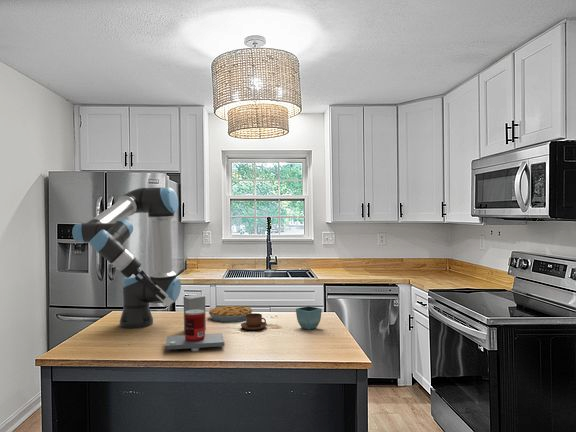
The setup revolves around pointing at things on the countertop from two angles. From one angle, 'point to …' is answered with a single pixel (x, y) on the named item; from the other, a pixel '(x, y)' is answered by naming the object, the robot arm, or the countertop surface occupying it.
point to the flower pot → (308, 317)
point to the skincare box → (194, 304)
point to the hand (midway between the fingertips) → (168, 301)
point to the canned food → (194, 325)
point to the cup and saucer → (254, 322)
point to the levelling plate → (182, 343)
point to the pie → (229, 313)
